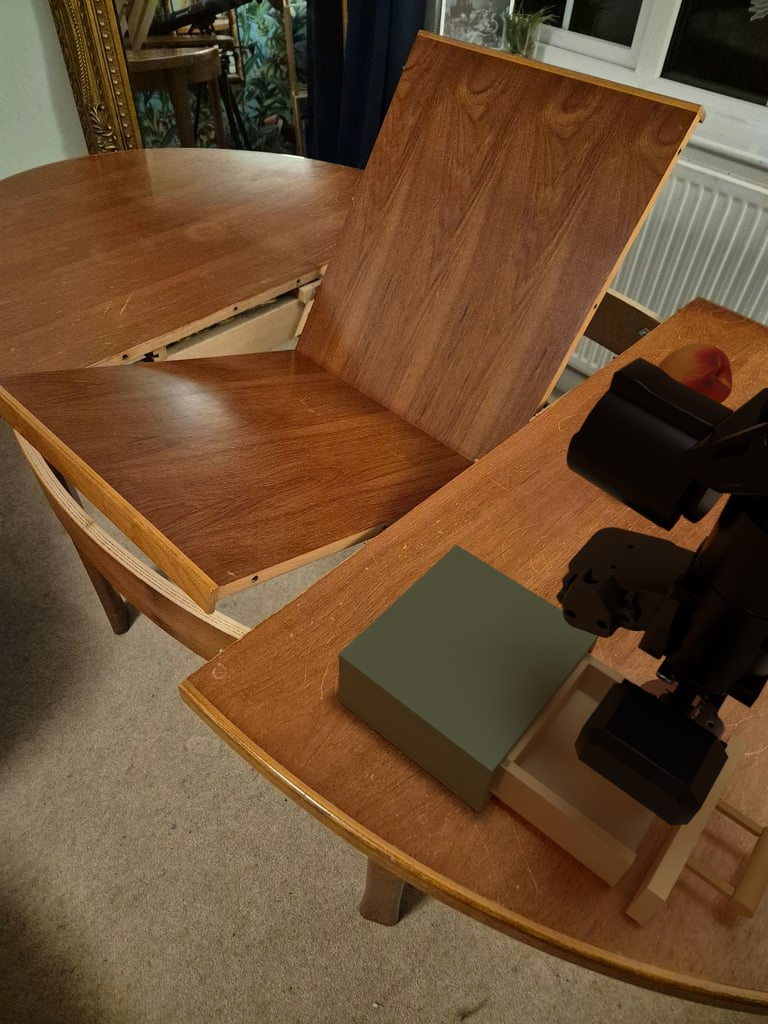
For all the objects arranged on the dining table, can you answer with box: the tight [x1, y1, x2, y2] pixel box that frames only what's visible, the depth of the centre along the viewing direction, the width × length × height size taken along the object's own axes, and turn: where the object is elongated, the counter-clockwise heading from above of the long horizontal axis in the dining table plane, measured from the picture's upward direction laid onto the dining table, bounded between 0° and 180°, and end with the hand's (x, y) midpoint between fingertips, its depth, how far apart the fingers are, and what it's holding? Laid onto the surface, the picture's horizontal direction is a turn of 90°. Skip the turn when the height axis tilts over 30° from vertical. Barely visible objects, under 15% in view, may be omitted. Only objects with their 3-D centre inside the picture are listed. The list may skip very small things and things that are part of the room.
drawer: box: [489, 653, 768, 926], centre depth 51 cm, size 17×13×5 cm
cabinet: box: [338, 544, 600, 813], centre depth 58 cm, size 14×15×7 cm
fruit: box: [657, 343, 733, 404], centre depth 86 cm, size 8×8×8 cm
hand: (660, 732), depth 47 cm, fingers closed on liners, 5 cm apart
